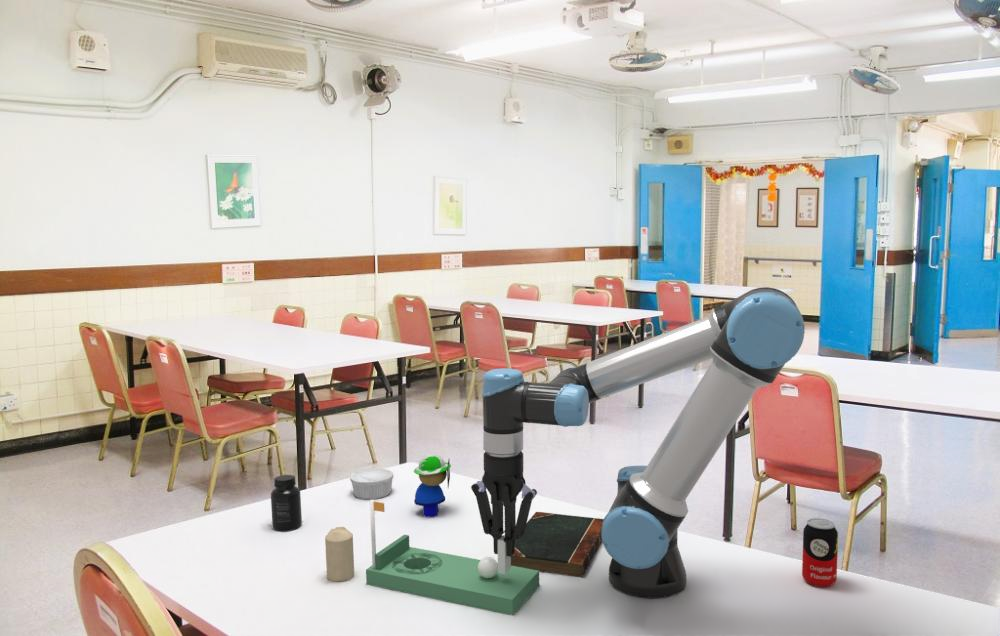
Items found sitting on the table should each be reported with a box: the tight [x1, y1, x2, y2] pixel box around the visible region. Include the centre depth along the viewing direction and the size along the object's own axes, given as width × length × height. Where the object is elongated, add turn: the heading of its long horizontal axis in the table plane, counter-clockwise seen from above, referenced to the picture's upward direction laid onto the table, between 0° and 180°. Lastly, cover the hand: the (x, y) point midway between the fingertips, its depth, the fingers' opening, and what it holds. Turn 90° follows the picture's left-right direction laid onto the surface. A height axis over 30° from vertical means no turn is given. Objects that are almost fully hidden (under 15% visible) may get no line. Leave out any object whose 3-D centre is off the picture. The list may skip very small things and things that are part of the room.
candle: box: [324, 526, 355, 583], centre depth 163 cm, size 6×6×10 cm
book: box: [511, 511, 604, 579], centre depth 175 cm, size 17×4×25 cm
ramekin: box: [349, 467, 394, 500], centre depth 212 cm, size 11×11×5 cm
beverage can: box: [801, 517, 839, 588], centre depth 157 cm, size 6×6×12 cm
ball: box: [478, 556, 498, 578], centre depth 155 cm, size 4×4×4 cm
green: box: [365, 499, 540, 616], centre depth 158 cm, size 32×13×17 cm, turn 65°
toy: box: [413, 453, 452, 518], centre depth 197 cm, size 9×9×15 cm
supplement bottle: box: [270, 474, 303, 532], centre depth 190 cm, size 7×7×12 cm
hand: (504, 570), depth 153 cm, fingers closed
